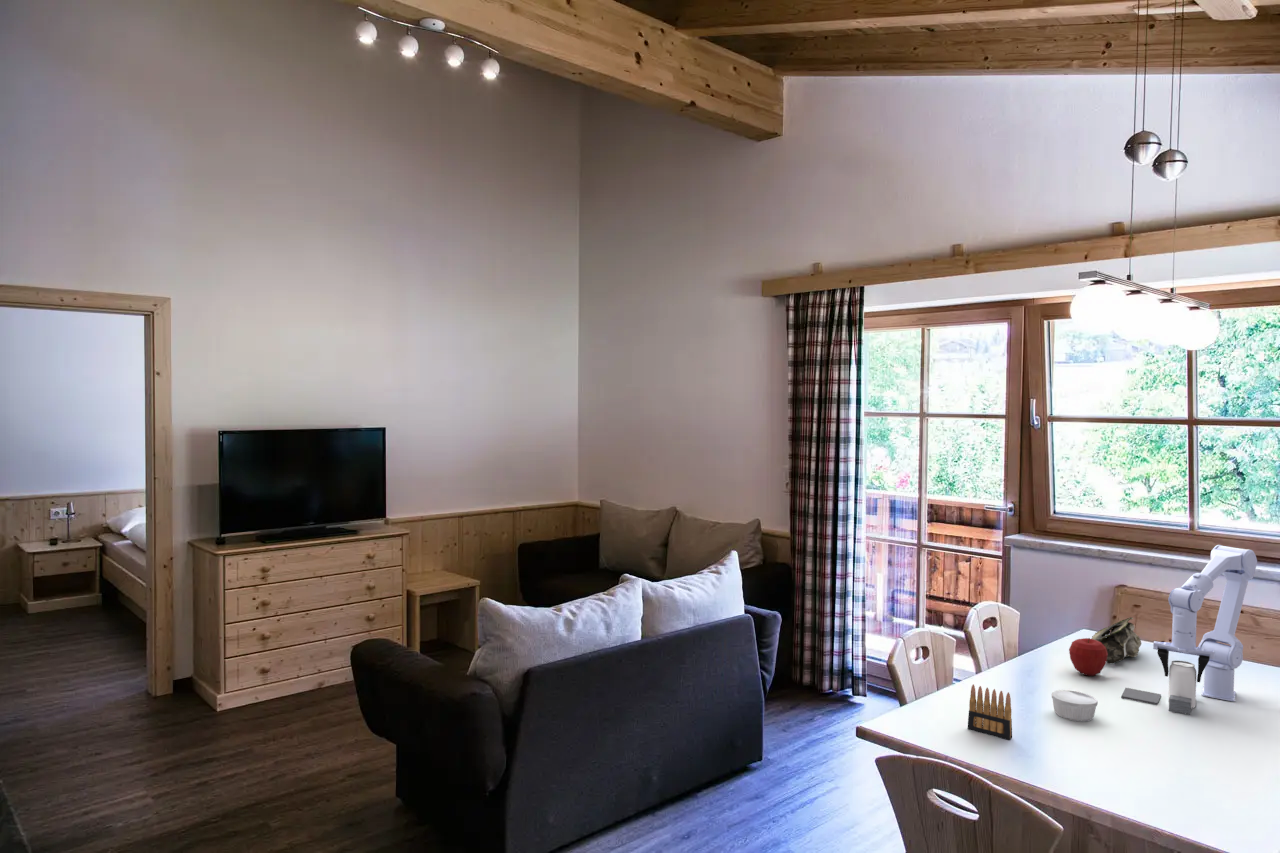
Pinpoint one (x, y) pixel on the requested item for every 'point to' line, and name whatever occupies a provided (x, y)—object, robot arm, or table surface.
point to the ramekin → (1074, 705)
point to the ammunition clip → (990, 714)
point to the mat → (1141, 696)
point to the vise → (1180, 704)
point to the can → (1183, 680)
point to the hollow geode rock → (1119, 640)
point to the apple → (1088, 656)
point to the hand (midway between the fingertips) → (1182, 678)
